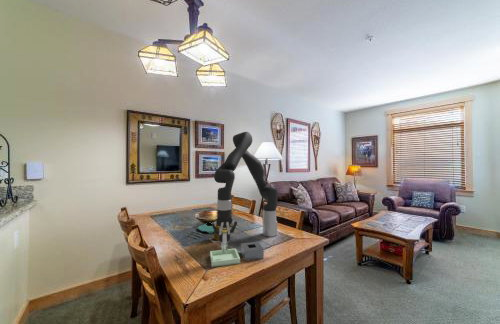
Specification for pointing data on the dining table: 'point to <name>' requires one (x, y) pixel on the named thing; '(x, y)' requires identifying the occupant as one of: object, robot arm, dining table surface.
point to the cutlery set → (202, 228)
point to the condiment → (215, 235)
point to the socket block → (252, 251)
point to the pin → (224, 240)
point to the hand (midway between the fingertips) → (224, 241)
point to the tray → (224, 258)
